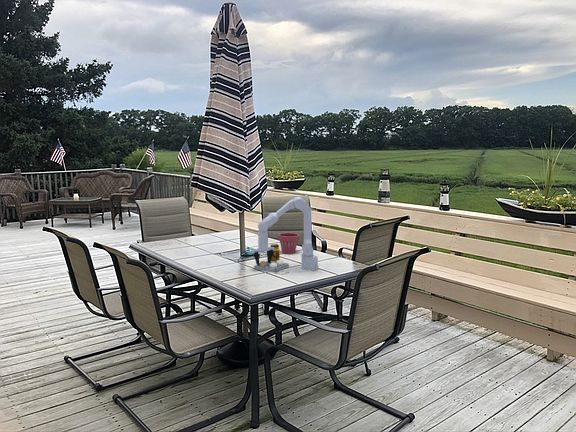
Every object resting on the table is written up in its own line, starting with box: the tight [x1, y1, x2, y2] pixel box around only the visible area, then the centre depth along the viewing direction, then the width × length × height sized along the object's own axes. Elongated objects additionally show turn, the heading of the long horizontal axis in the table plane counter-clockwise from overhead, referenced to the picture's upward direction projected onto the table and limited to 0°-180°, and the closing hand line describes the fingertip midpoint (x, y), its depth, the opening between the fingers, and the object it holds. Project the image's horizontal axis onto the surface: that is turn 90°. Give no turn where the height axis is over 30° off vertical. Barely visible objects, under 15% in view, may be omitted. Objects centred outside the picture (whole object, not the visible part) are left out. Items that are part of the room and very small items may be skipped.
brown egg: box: [259, 260, 267, 267], centre depth 280 cm, size 5×5×5 cm
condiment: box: [270, 243, 281, 262], centre depth 296 cm, size 7×8×12 cm
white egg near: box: [276, 259, 284, 266], centre depth 282 cm, size 5×5×5 cm
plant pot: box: [277, 232, 300, 255], centre depth 325 cm, size 14×14×13 cm
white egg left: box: [269, 262, 277, 269], centre depth 276 cm, size 5×5×5 cm
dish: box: [274, 270, 290, 276], centre depth 271 cm, size 6×6×1 cm
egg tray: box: [253, 261, 290, 273], centre depth 281 cm, size 15×15×3 cm
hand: (263, 263), depth 280 cm, fingers open, 7 cm apart
